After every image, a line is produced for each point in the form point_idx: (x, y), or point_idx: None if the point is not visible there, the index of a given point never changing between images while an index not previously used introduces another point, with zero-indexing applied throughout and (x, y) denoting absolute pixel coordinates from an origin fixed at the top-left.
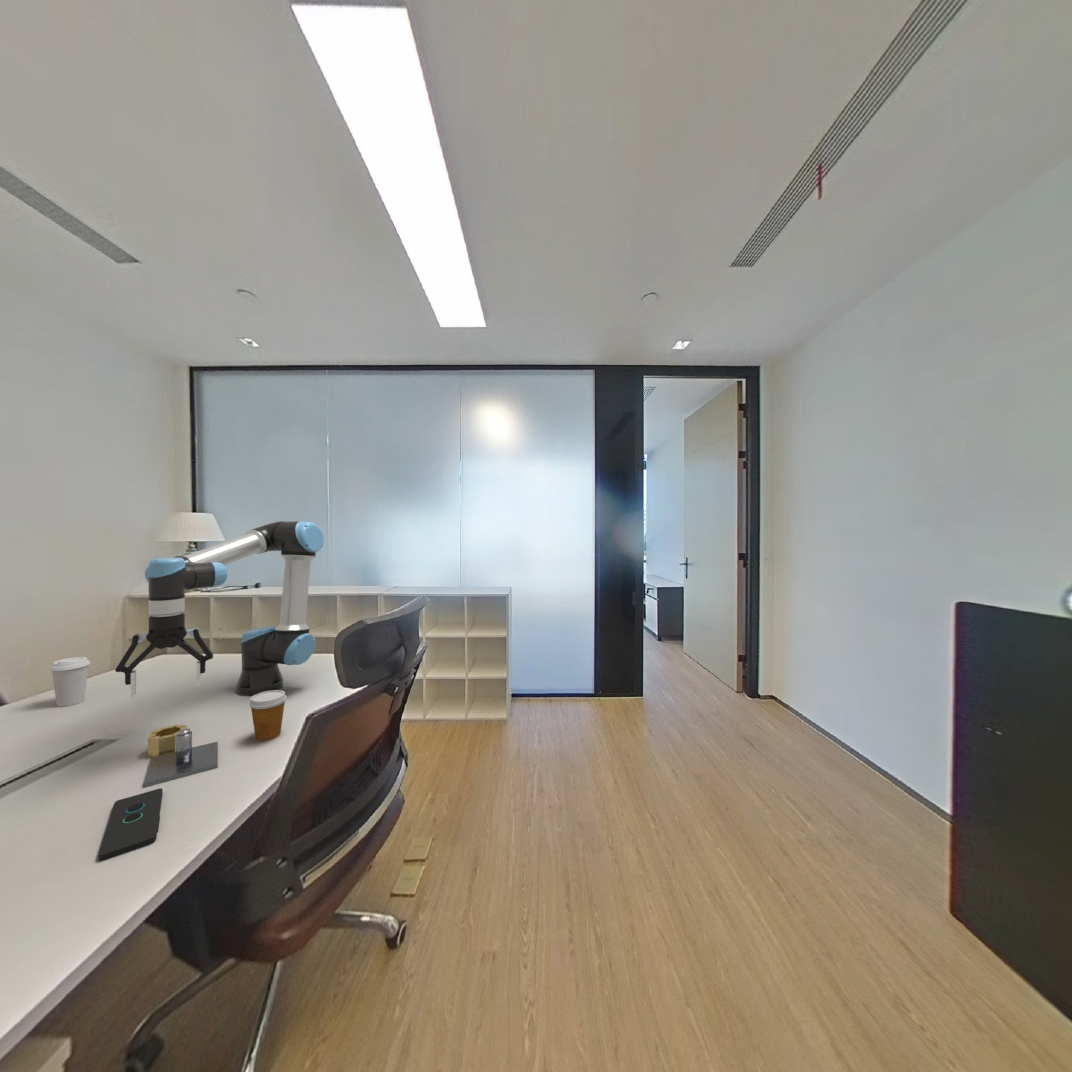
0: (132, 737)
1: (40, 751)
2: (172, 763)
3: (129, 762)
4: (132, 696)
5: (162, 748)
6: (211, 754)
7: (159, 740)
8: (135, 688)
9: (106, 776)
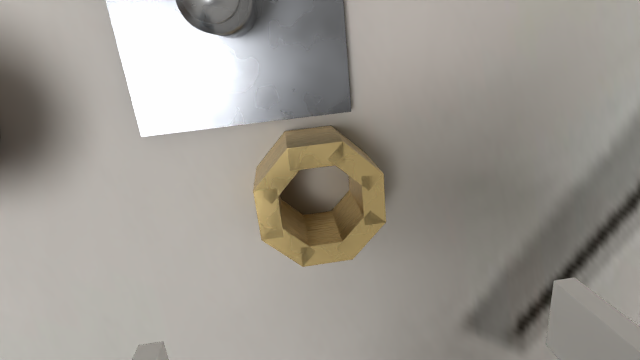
0: (431, 324)
1: None
2: (267, 3)
3: (411, 135)
4: (570, 281)
5: (324, 133)
6: (131, 9)
7: (338, 139)
8: (590, 355)
9: (458, 57)
